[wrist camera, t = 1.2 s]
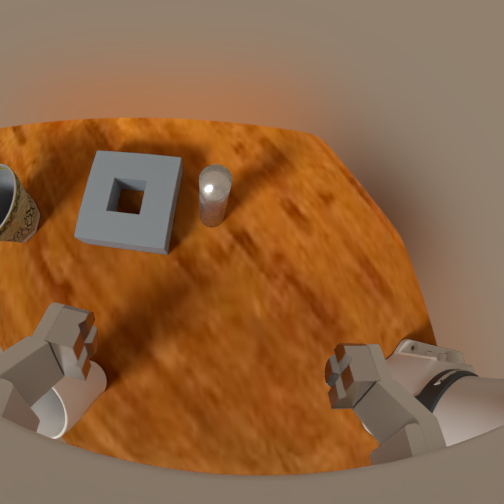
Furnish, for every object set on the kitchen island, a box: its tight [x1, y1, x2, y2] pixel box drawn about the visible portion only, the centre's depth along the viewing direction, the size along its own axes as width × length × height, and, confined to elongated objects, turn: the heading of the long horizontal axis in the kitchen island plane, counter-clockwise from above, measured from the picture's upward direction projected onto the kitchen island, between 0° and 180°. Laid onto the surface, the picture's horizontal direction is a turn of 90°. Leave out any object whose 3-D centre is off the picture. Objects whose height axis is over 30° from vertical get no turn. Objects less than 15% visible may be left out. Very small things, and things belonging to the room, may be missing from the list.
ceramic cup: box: [0, 164, 40, 243], centre depth 31 cm, size 13×10×10 cm
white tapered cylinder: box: [30, 360, 107, 439], centre depth 27 cm, size 7×7×15 cm
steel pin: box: [199, 165, 232, 227], centre depth 35 cm, size 3×3×12 cm
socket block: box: [74, 151, 183, 255], centre depth 37 cm, size 12×12×4 cm
